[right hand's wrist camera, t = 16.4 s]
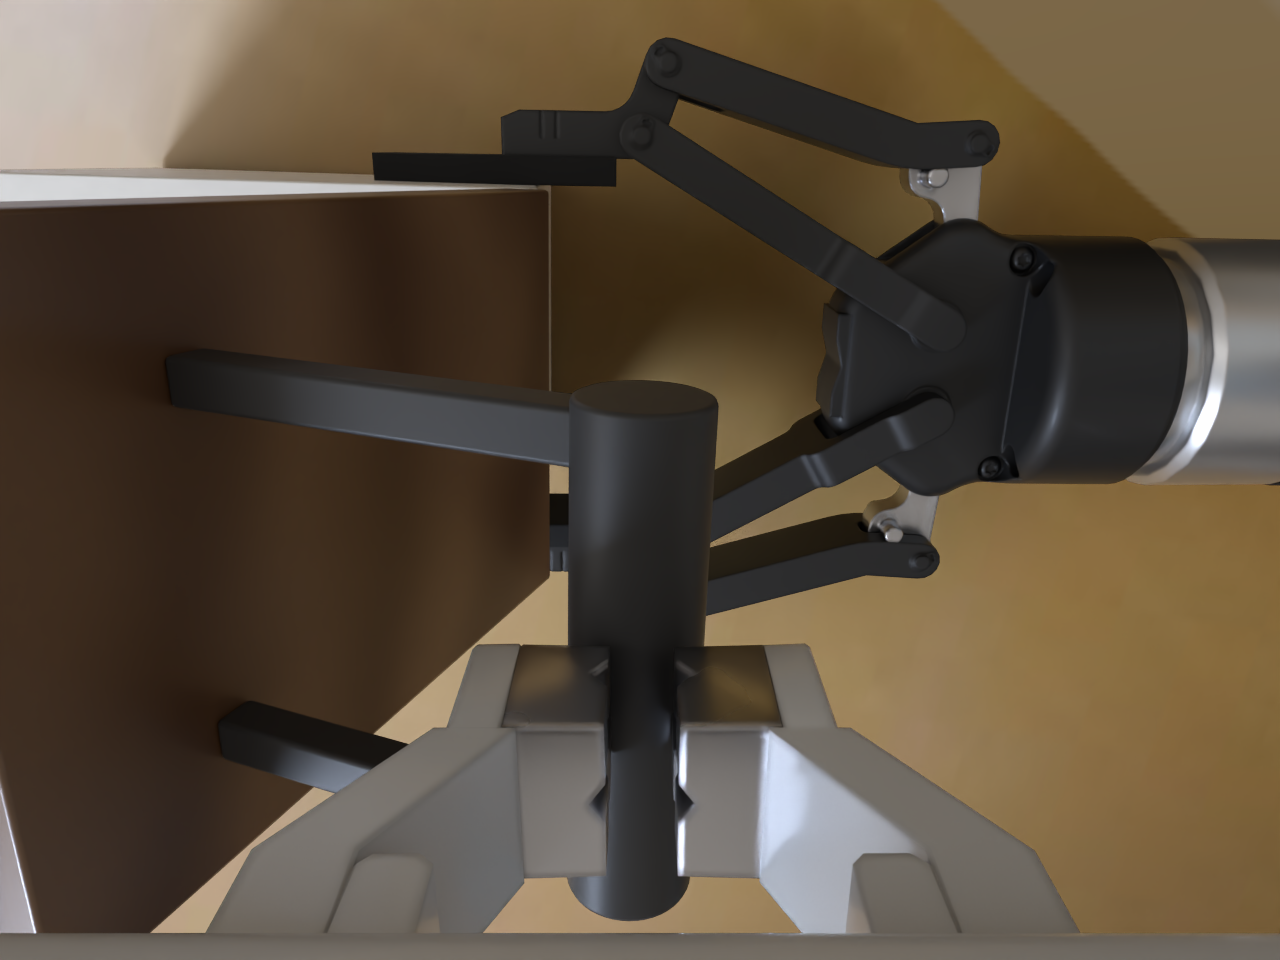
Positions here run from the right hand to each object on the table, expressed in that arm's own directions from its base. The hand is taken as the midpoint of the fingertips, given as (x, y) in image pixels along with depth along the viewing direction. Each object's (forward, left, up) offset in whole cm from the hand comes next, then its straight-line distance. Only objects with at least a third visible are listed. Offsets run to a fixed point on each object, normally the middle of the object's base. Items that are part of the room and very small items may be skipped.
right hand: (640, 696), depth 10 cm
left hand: (-6, +2, -18) cm, 20 cm away
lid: (-5, +2, -7) cm, 9 cm away
